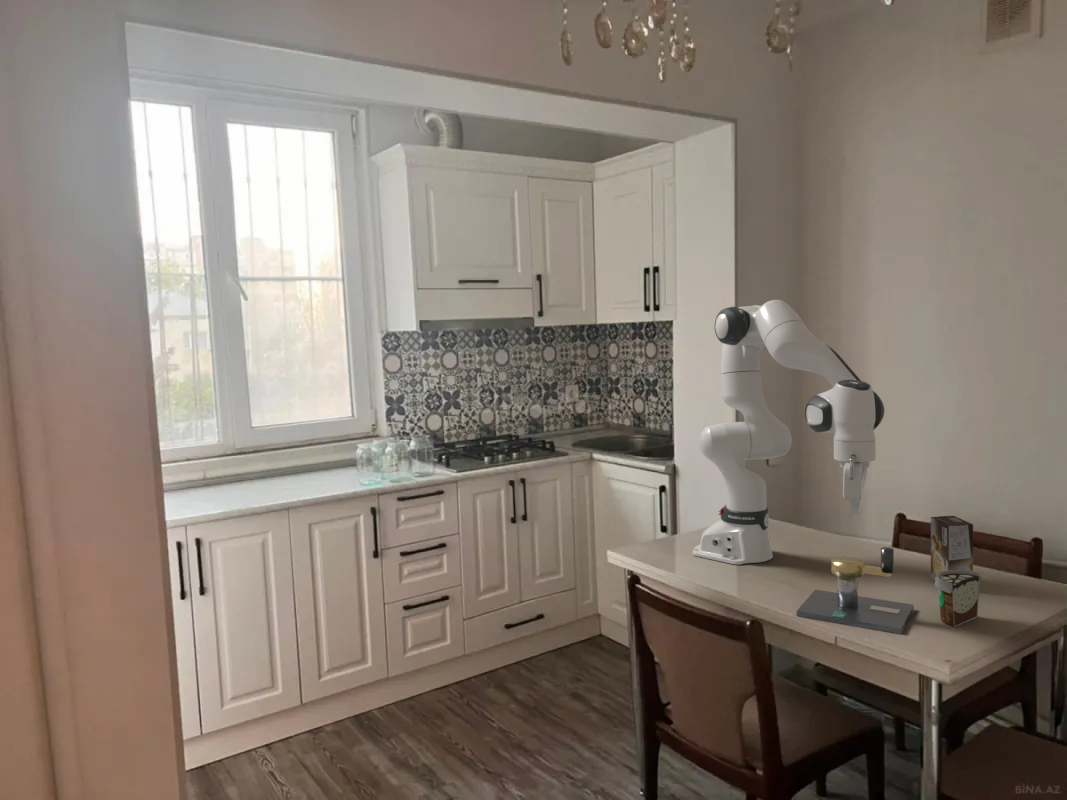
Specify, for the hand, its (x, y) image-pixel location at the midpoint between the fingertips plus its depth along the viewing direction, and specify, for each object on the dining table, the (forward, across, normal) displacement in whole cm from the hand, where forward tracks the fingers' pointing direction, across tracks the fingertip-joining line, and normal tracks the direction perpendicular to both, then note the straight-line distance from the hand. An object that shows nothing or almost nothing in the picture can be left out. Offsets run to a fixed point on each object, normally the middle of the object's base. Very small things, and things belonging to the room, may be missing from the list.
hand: (854, 511), depth 178 cm
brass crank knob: (+15, -1, -2) cm, 15 cm away
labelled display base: (+23, -2, 0) cm, 23 cm away
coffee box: (+24, +27, -21) cm, 41 cm away
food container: (+24, +1, -20) cm, 31 cm away
